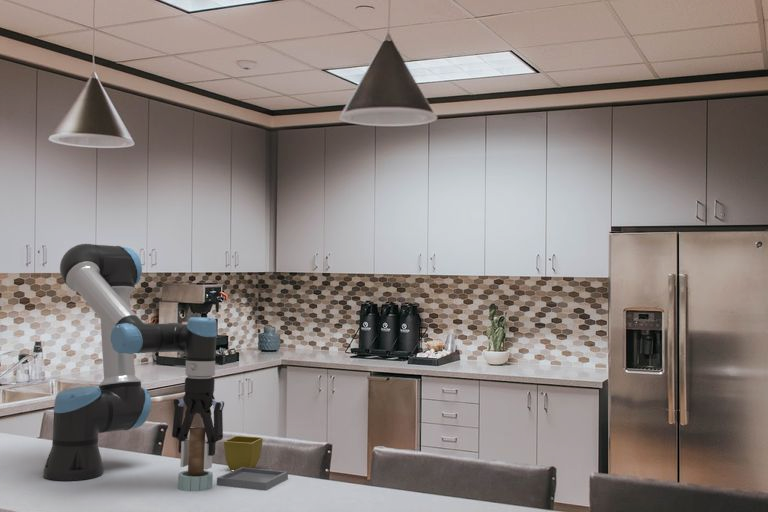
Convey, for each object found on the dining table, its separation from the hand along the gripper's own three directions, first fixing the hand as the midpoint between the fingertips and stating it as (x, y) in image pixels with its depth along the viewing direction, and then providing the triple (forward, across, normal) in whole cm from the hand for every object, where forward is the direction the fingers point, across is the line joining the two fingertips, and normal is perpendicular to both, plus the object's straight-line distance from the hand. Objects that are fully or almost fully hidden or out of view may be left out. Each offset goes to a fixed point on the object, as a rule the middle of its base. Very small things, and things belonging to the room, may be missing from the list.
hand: (196, 466), depth 199 cm
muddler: (+5, 0, 0) cm, 5 cm away
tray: (+6, +11, +11) cm, 17 cm away
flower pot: (+6, +1, +24) cm, 25 cm away
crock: (+6, 0, 0) cm, 6 cm away
